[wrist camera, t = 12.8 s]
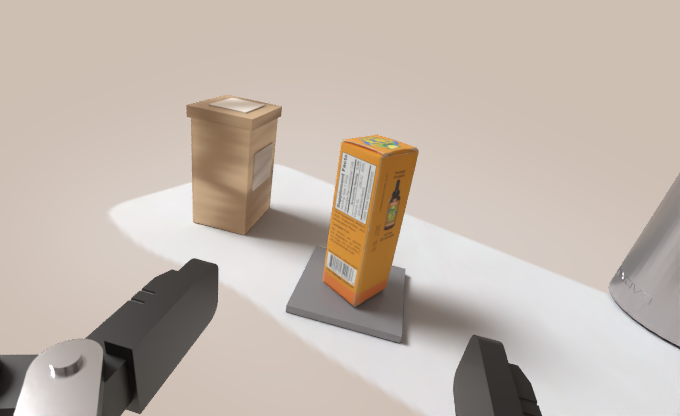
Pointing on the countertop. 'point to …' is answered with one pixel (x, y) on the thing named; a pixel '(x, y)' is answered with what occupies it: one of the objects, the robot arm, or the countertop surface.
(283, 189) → the countertop surface
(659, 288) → the robot arm
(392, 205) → the supplement box
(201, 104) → the box
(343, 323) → the coaster
